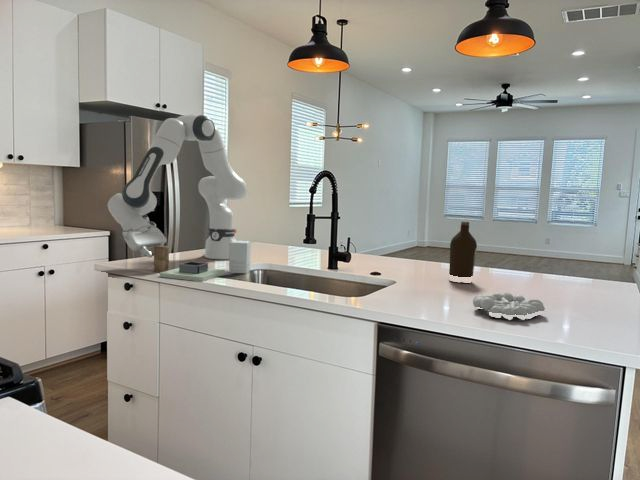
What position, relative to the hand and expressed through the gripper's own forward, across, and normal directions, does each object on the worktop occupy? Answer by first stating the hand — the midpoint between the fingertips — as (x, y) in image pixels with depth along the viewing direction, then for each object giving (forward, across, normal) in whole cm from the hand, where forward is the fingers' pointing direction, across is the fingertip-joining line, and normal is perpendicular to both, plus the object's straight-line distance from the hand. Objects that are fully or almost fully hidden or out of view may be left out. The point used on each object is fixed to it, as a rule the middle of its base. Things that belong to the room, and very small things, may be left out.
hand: (158, 255), depth 197 cm
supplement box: (+25, +15, -15) cm, 33 cm away
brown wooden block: (+6, 0, +4) cm, 7 cm away
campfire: (+97, -8, -87) cm, 131 cm away
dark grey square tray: (+15, -1, -8) cm, 17 cm away
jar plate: (+16, -1, -7) cm, 18 cm away
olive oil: (+87, +42, -78) cm, 124 cm away
